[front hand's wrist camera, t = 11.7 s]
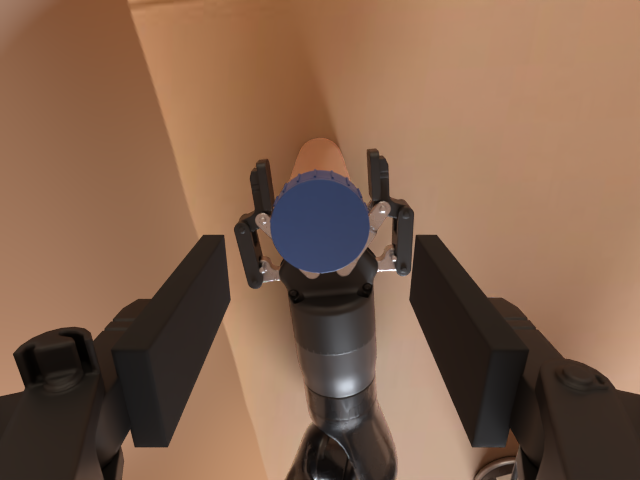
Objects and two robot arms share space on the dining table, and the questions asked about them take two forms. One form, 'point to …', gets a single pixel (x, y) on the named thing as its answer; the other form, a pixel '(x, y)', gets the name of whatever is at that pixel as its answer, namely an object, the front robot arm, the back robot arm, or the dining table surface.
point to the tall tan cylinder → (319, 158)
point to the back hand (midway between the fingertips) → (316, 155)
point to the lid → (319, 222)
